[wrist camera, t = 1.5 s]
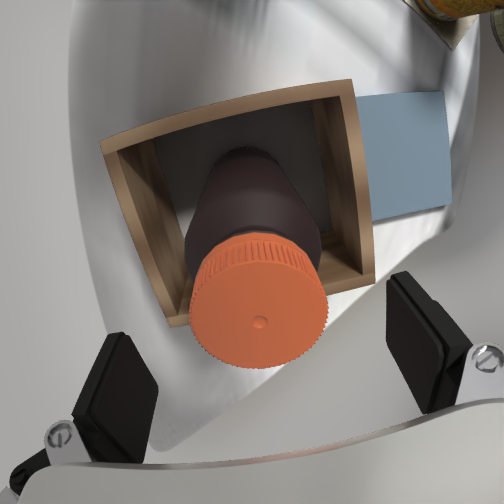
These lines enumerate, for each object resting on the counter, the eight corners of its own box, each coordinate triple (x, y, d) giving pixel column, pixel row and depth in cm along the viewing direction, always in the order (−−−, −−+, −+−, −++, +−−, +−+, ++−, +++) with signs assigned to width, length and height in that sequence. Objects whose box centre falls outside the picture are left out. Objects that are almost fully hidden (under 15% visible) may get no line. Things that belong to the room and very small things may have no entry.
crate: (138, 129, 26) (99, 141, 18) (317, 85, 25) (351, 78, 17) (185, 272, 33) (170, 327, 25) (343, 237, 32) (375, 283, 24)
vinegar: (218, 138, 27) (177, 207, 9) (292, 157, 28) (385, 257, 10) (202, 208, 30) (154, 368, 12) (271, 225, 31) (313, 393, 13)
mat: (345, 98, 26) (348, 98, 25) (437, 91, 25) (443, 91, 24) (362, 219, 31) (366, 222, 30) (446, 200, 30) (451, 203, 29)
